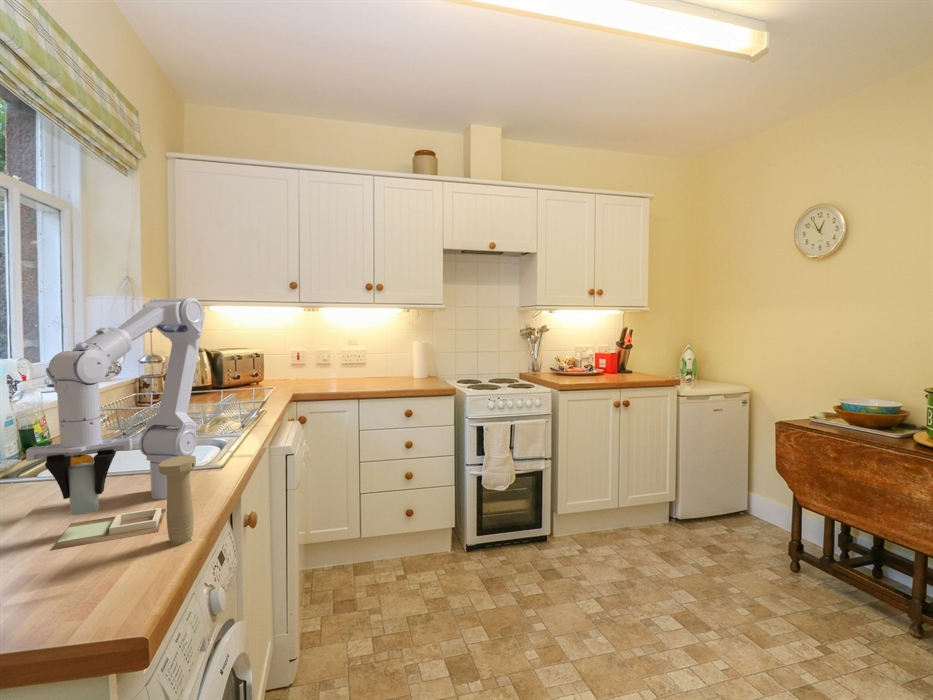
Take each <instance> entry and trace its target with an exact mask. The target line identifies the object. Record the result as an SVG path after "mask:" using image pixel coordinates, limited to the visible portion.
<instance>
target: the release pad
mask: <svg viewBox="0 0 933 700" xmlns="http://www.w3.org/2000/svg"><path fill="white" fill-rule="evenodd" d="M111 523H112V521H107V522H101V523H94V524H88V525H82V526H75V527H69V526H68V527H69V528H68V527H67V528H68V529H67V528H66V529H67V530H66V529H65V530H64V532H65V533H64V532H63V533H64V534H63V533H62V534H63V535H61V536H62V537H61V536H60V537H61V538H60V537H59V538H60V539H59V538H58V540H57V541H58V542H57V541H56V542H57V543H62V542H68V541H74V540H80V539H86V538H91V537H97V536H103V535H105V534H106V532H107V530H108V529H109V527H110V525H111Z"/></svg>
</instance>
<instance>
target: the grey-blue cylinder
mask: <svg viewBox="0 0 933 700" xmlns="http://www.w3.org/2000/svg"><path fill="white" fill-rule="evenodd" d="M68 480H69V498H68V499H69V513H70V515H74V516H77V515H78V516H80V515H85V514H89V513H93V512H96V511H97V510H99V509H100V503H99V502H100V501H99V500H100V499H99V494H96V471H95V465H94V463H82V464H77V465H73V466H70V467H68Z"/></svg>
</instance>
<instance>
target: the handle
mask: <svg viewBox="0 0 933 700" xmlns="http://www.w3.org/2000/svg"><path fill="white" fill-rule="evenodd" d="M196 459H197V457H196V455H192V456H178V457H174V458H170V459H167V460H165V461H163V462H161V463H160V464H159V473H161V474H163V475H166V476H167V499H166V527H167V535H168V539H169V542H170V546H183V545H184V544H188V543H190V542H192V541H193V538H192V536H193V535H194V523H195V522H194V520H195V519H194V506H193V498H192V496H193V495H192V486H191V478H190V477H191V476H190V475H191V471H193V470H194V469H195V468H196V465H197V462H196V461H197V460H196Z"/></svg>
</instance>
